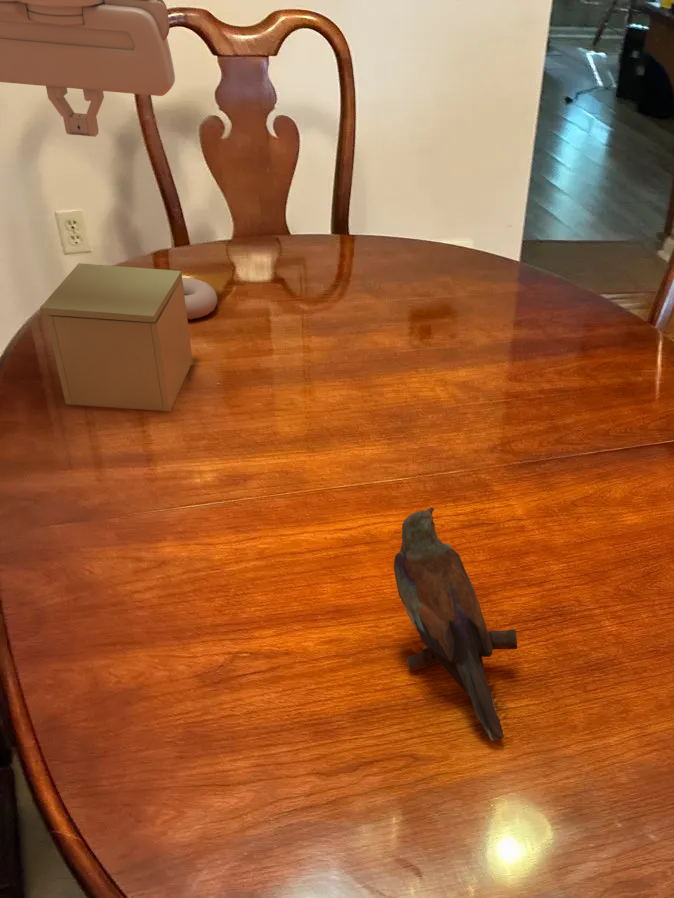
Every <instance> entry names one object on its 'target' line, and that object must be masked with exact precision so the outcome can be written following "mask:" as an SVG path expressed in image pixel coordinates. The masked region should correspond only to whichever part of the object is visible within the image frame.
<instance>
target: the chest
mask: <svg viewBox="0 0 674 898" xmlns="http://www.w3.org/2000/svg"><path fill="white" fill-rule="evenodd" d="M182 278H183V277H182ZM182 278H181V280H180V281H179V283H178V285H177V286H176V288H175V289H174V291H173V293H172V294H171V296H170V298H169V299H168V301H167V303H166V304H165V306H164V307H163V309H162V311H161V312H160V314H159V316H158V317H157V319H156V321H155V322H142V321H128V320H114V319H100V318H87V317H73V316H59V315H45V319H46V324H47V329H48V332H49V338H50V341H51V345H52V351H53V356H54V359H55V363H56V368H57V372H58V377H59V380H60V385H61V390H62V394H63V398H64V402H65V403H64V404H65V405H72V406H84V407H85V406H86V407H99V408H101V407H102V408H116V409H130V410H131V409H133V410H147V411H149V410H150V411H161V412H171V411H172V408H173V405H174V404H175V402H176V399H177V397H178V395H179V393H180V390H181V388H182V386H183V384H184V381H185V379H186V377H187V375H188V373H189V370H190V368H191V366H193V365H194V361H193V360H194V359H193V354H192V353H193V352H192V344H191V337H190V330H189V320H187V312H186V305H185V297H184V289H183V281H182Z"/></svg>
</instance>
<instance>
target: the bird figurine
mask: <svg viewBox="0 0 674 898" xmlns="http://www.w3.org/2000/svg"><path fill="white" fill-rule="evenodd" d="M434 511H435V507H429V508H427V509H425V510H418V511H415V512H413V513H410V514H409V515H408V516H407V517H406V518H405V519H404V520H403V522H402V523H401V524H402V525H401V531H402V532H401V546H400V550H399V552H397V553H396V554H395V555H394V559H393V571H394V578H395V583H396V589H397V593H398V596H399V598H400V600H401V603H402V604H403V606H404V609H405V611H406V614H407V616H408V618H409V620H410V621H411V624H412V625H413V627H414V628H415V630H416V631H417V633H418V634H419V637H420V639H421V642H422V643H423V645H424V646H423V648H422V649H421V651H420V652H418V653H416V654H413V655H410V656H408V657H406V664H407V667H408V669H409V671H410V672H414V671H417V670H421V669H423V668H427V667H430V666H432V665H434V664H437V663H439V664H440V665H441V666H442V668H444V670H445V671H446V672H447V673H448V674H449V675H450V676H451V677H452V679H453V680H454V681H455V682H456V684H458V686H459V687H460V688H461V689H462V690H463V691H464V692H465V693H466V694H467V695H468V698H469V701H470V703H471V705H472V707H473V712H474V714H475V716H476V718H477V720H478V721H479V722H480V724H481V726H482V728H483V731H484V733H485V734H486V736H488V737H489V739H490V741H492V742H494V741H500V740H501V739H503V738H504V737H505V735H504V731H503V727H502V724H501V720H500V718H499V716H498V714H497V710H496V707H495V704H494V703H495V702H494V698H493V695H492V692H491V689H490V687H489V686H490V685H489V683H488V681H487V678H486V674H485V668H484V663H483V662H484V661H483V657H484V658H490V657H491V656H492V655H493V651H494V650H517V649H518V635H517V630H516V629H505V630H488V627H487V624H486V621H485V617H484V615H483V612H482V608H481V605H480V602H479V599H478V596H477V594H476V591H475V588H474V586H473V583H472V581H471V579H470V577H469V575H468V572H467V571H466V569H465V566H464V563H463V561H462V559H461V556H460V554H459V553H458V552H457V551H456V550H455V549H454V548H453V547H452V545H451V544H449V543H448V542H447V543H446V542H445V543H444V542H443V541H442V540H441V539H439V537H438V534H437V531H436V527H435V526H436V523H435V521H434V516H433V512H434Z"/></svg>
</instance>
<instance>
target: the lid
mask: <svg viewBox="0 0 674 898" xmlns="http://www.w3.org/2000/svg"><path fill="white" fill-rule="evenodd" d="M181 278H183V273H182V271H181V270H174V269H173V270H172V269H161V268H146V267H133V266H123V265H122V266H119V265H110V264H109V265H107V264H93V263H80V262H78V264H76V265H75V267H74V268H73V269H72V270H71V271H70V272H69V274H68V275H67V276H66V277H65V278H64V280H62V281H61V283H60V284H59V285H58V286H57V288H55V289H54V291H53V292H52V293H51V294H50V295H49V297H48V298H47V299H46V300H45V301H44V302H43V304H42V305H41V306H40V307H39V308H40V314H41V315H45V316H46V315H59V316H73V317H87V318H100V319H114V320H128V321H142V322H155V321H156V319H157V317H158V316H159V314H160V312H161V311H162V309H163V307H164V306H165V304H166V303H167V301H168V299H169V298H170V296H171V294H172V293H173V291H174V289H175V288H176V286H177V285H178V283H179V281H180V280H181Z"/></svg>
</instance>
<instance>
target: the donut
mask: <svg viewBox="0 0 674 898" xmlns="http://www.w3.org/2000/svg"><path fill="white" fill-rule="evenodd" d="M182 281H183V289H184V297H185V305H186V312H187V320H188V319H189V320H195V318H196V319H200V318H203V317H205V316H208V315H209V314H210V313H212V312H213V311H214V310H215V308H216V306H217V304H218V296H217V292H216V289H215V288H213V286H211V284H209V283H207V282H205V281H204V280H201V279H196V278H193V277H182ZM189 320H188V321H189Z"/></svg>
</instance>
